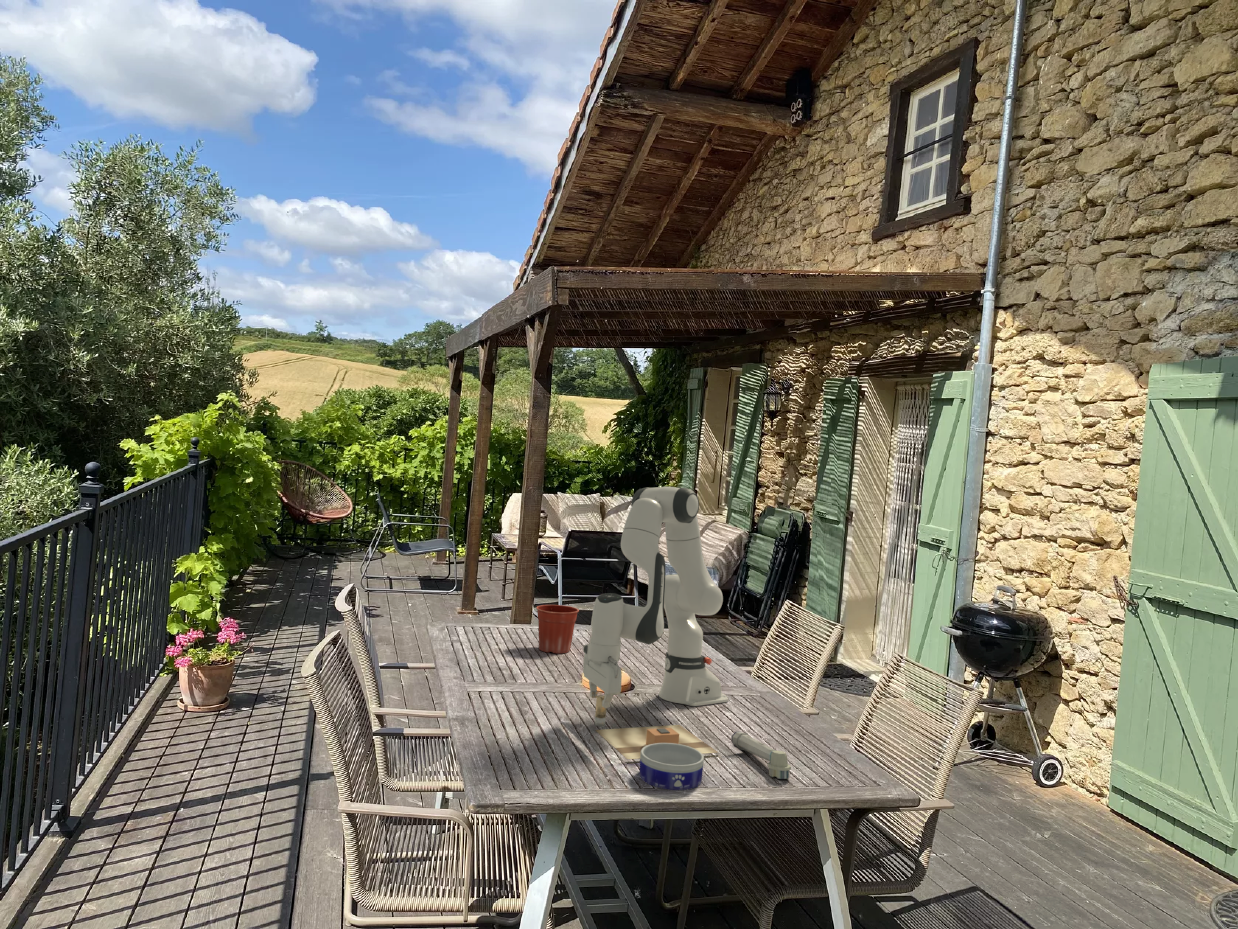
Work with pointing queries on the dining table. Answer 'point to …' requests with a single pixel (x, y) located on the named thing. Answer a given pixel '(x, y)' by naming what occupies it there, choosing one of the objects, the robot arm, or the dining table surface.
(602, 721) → the amber glass vial
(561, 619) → the flower pot
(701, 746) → the panel
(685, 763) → the dog bowl
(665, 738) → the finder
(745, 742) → the angle head flashlight
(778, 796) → the dining table surface
